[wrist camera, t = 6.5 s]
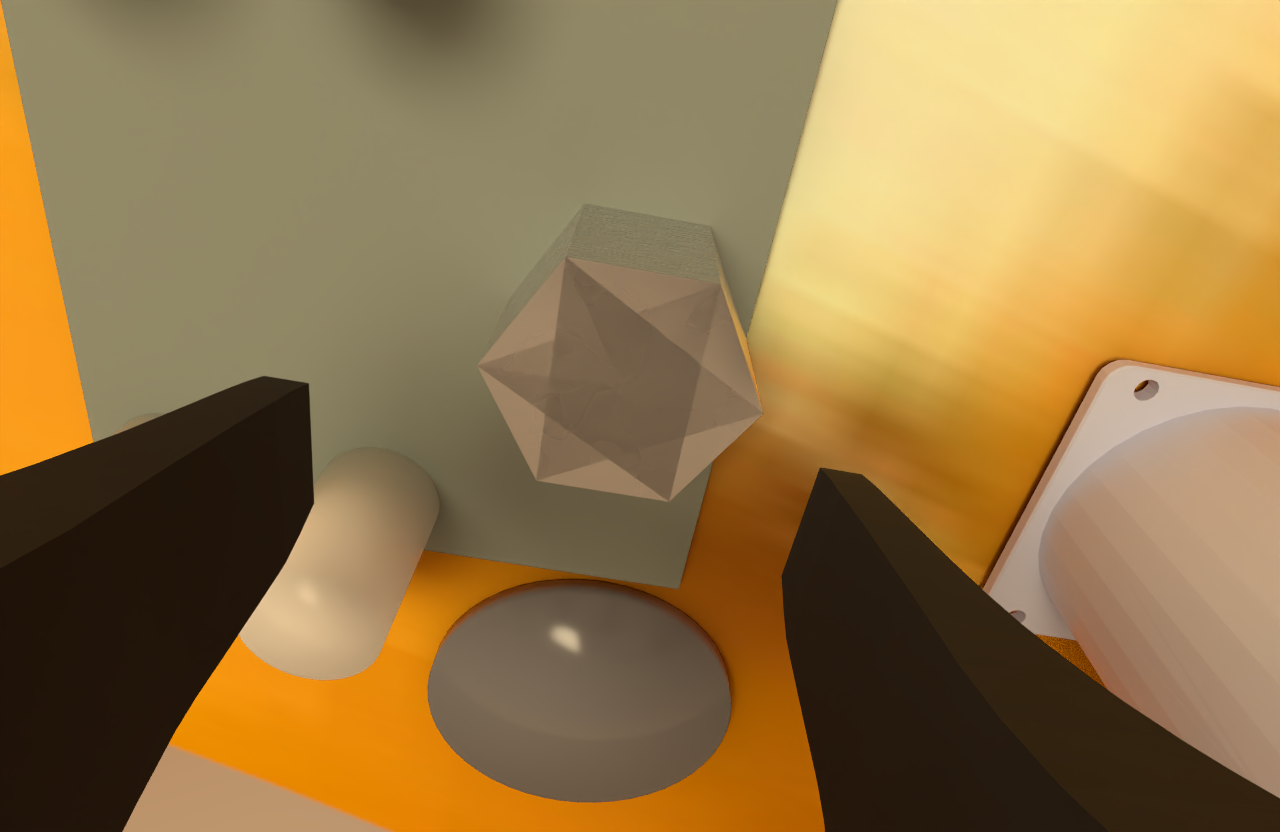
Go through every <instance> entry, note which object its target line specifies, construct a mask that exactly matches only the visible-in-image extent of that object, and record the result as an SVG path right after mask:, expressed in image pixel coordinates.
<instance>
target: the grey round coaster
mask: <svg viewBox="0 0 1280 832" xmlns="http://www.w3.org/2000/svg"><path fill="white" fill-rule="evenodd" d="M428 702H429V706H430V711H431V715H432V717H433V719H434V722H435V724H436V726H437V728H438V730H439V731H440V733H441V735H442V736H443V738H444V739H445V741H446V742H447V743H448V744H449V745H450V747H451V748H452V749H453V750H454V751H455V752H456V753H457V754H458V755H459V756H460V757H461V758H462V759H463V760H464V761H466V762H467V763H468V764H470V765H471V766H472V767H474V768H475V769H476V770H478V771H479V772H481V773H483V774H484V775H486V776H488V777H490V778H491V779H493V780H495V781H497V782H499V783H502V784H504V785H506V786H508V787H511V788H513V789H516V790H519V791H522V792H525V793H528V794H532V795H536V796H540V797H544V798H549V799H555V800H561V801H571V802H609V801H618V800H625V799H631V798H635V797H639V796H643V795H648V794H651V793H653V792H656V791H659V790H662V789H665V788H667V787H669V786H671V785H673V784H675V783H677V782H679V781H681V780H682V779H684V778H686V777H687V776H689V775H690V774H692V773H693V772H695V771H696V770H697V769H698V768H699V767H701V766H702V765H703V764H704V763H705V762H706V761H707V760H708V759H709V758H710V757H711V756H712V755H713V754H714V752H715V751H716V749H717V748H718V746H719V745H720V743H721V742H722V740H723V737H724V735H725V733H726V731H727V728H728V724H729V720H730V712H731V698H730V687H729V679H728V673H727V670H726V667H725V664H724V661H723V658H722V656H721V654H720V653H719V651H718V649H717V647H716V645H715V644H714V643H713V641H712V640H711V639H710V637H709V636H708V635H707V633H706V632H705V631H704V630H703V629H702V628H701V627H699V626H698V625H697V624H696V623H695V622H694V621H693V620H692V619H691V618H689V617H688V616H687V615H685V614H684V613H683V612H681V611H680V610H678V609H677V608H675V607H673V606H672V605H670V604H668V603H666V602H665V601H663V600H661V599H658V598H656V597H654V596H651V595H649V594H647V593H645V592H642V591H638V590H635V589H632V588H629V587H626V586H622V585H617V584H612V583H607V582H601V581H591V580H565V579H561V580H551V581H540V582H535V583H531V584H526V585H521V586H518V587H515V588H511V589H508V590H505V591H502V592H500V593H498V594H496V595H493V596H491V597H489V598H487V599H485V600H483V601H482V602H480V603H479V604H477V605H475V606H474V607H472V608H471V609H469V610H468V611H467V612H466V613H465V614H463V615H462V616H461V617H460V618H459V619H458V620H457V621H456V622H455V623H454V624H453V625H452V627H451V628H450V629H449V630H448V631H447V633H446V635H445V636H444V638H443V640H442V642H441V643H440V645H439V648H438V651H437V654H436V656H435V659H434V662H433V665H432V668H431V671H430V675H429V681H428Z"/></svg>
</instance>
